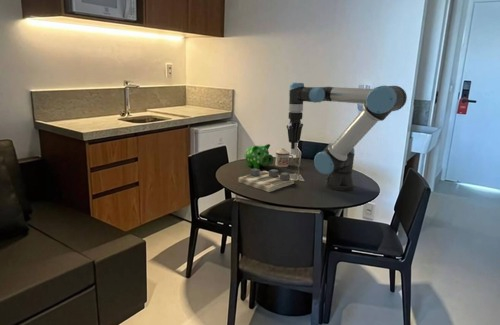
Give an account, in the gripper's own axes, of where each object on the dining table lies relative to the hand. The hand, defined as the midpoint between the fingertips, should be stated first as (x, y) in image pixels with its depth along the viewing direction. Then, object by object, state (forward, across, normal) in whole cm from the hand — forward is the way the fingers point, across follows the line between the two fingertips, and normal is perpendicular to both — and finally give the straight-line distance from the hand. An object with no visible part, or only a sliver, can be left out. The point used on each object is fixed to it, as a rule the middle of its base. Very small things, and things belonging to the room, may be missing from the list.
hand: (293, 154), depth 205 cm
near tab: (+13, +7, 0) cm, 15 cm away
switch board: (+16, +13, -9) cm, 22 cm away
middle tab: (+13, +7, -8) cm, 17 cm away
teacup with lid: (+15, -24, -24) cm, 37 cm away
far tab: (+13, +13, -17) cm, 25 cm away
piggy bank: (+15, -9, -33) cm, 37 cm away
